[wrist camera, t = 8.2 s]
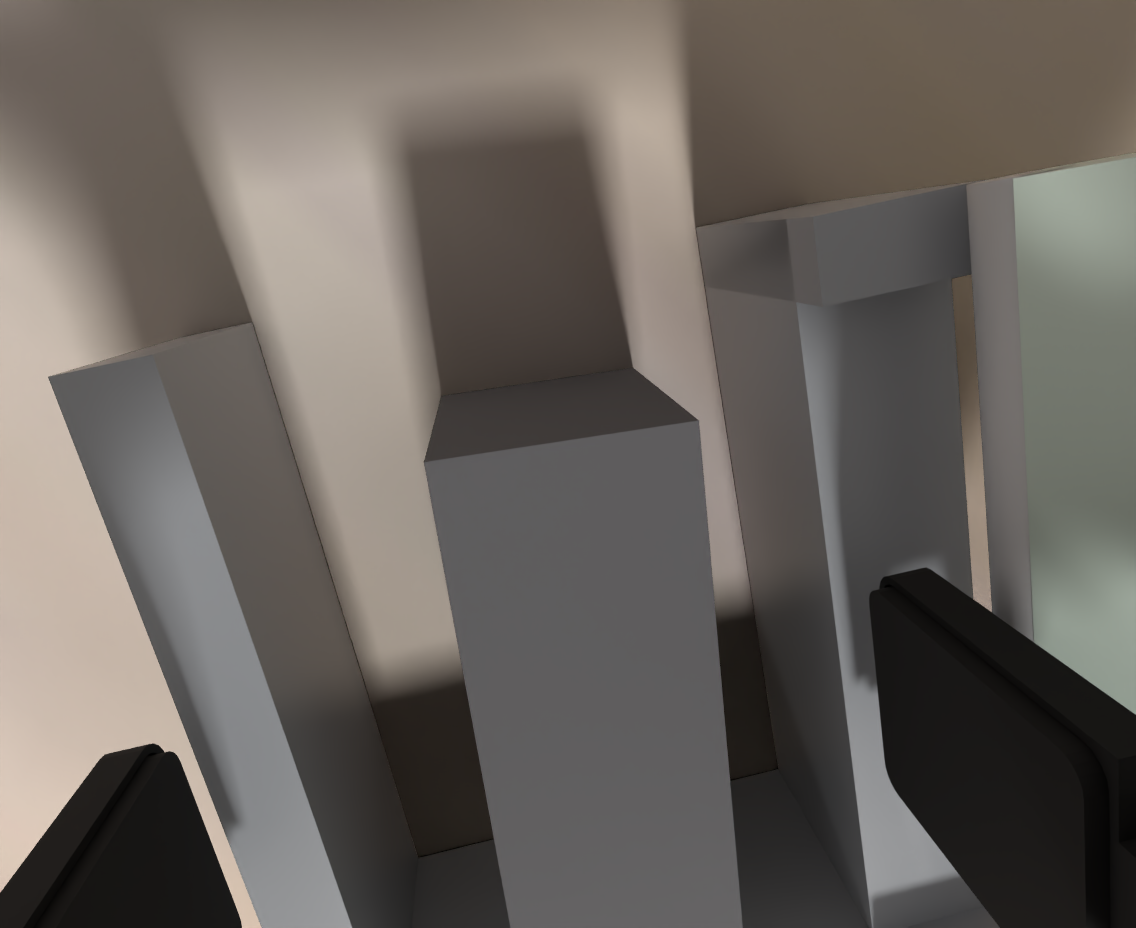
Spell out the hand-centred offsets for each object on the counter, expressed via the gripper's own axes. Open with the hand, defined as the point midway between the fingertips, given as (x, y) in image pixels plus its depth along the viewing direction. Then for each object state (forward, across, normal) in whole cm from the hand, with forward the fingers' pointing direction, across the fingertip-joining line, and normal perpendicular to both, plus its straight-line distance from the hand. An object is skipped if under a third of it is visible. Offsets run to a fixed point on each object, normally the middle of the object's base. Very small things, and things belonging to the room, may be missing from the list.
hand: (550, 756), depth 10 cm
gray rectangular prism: (+5, -1, 0) cm, 5 cm away
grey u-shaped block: (+5, 0, 0) cm, 5 cm away
